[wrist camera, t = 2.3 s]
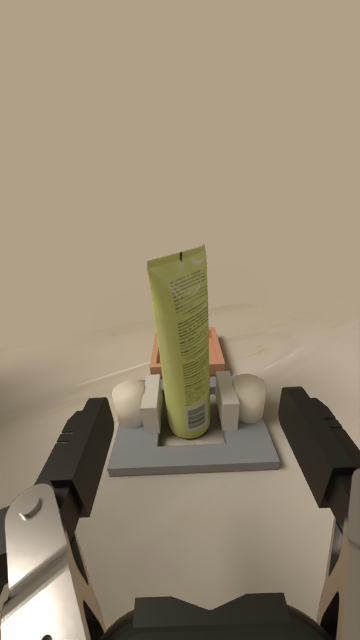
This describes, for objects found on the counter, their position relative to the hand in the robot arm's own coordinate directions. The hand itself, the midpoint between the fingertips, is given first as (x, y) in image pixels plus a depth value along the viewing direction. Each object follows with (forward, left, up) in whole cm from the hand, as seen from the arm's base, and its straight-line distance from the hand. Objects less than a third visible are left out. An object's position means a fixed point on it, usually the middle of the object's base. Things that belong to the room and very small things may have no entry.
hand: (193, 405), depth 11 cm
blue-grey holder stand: (0, +11, -15) cm, 18 cm away
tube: (0, +11, -15) cm, 19 cm away
